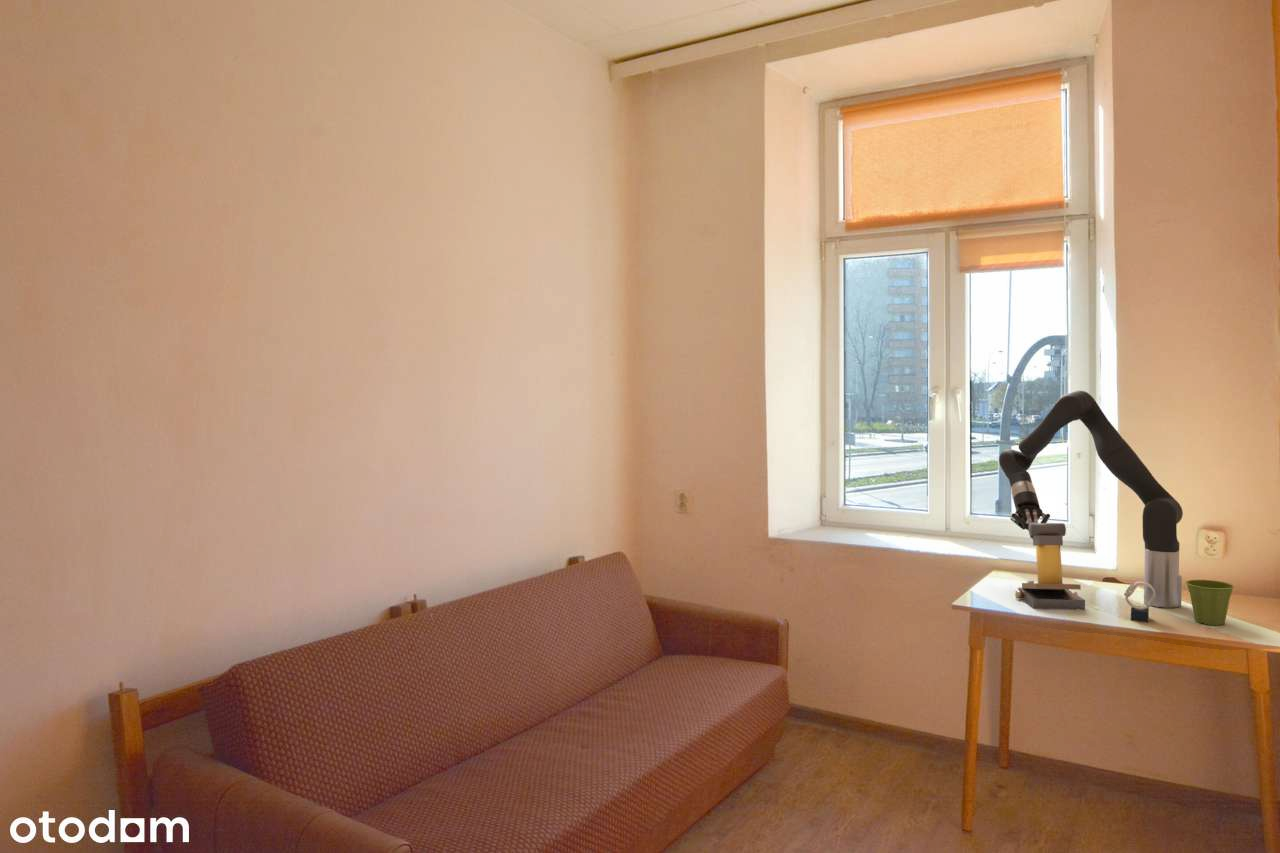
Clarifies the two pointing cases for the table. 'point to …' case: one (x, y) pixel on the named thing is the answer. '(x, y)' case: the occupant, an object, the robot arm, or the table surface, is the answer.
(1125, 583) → the table surface
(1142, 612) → the watch
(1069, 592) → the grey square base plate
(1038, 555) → the wooden pedestal stand
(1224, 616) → the plant pot
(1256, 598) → the table surface
